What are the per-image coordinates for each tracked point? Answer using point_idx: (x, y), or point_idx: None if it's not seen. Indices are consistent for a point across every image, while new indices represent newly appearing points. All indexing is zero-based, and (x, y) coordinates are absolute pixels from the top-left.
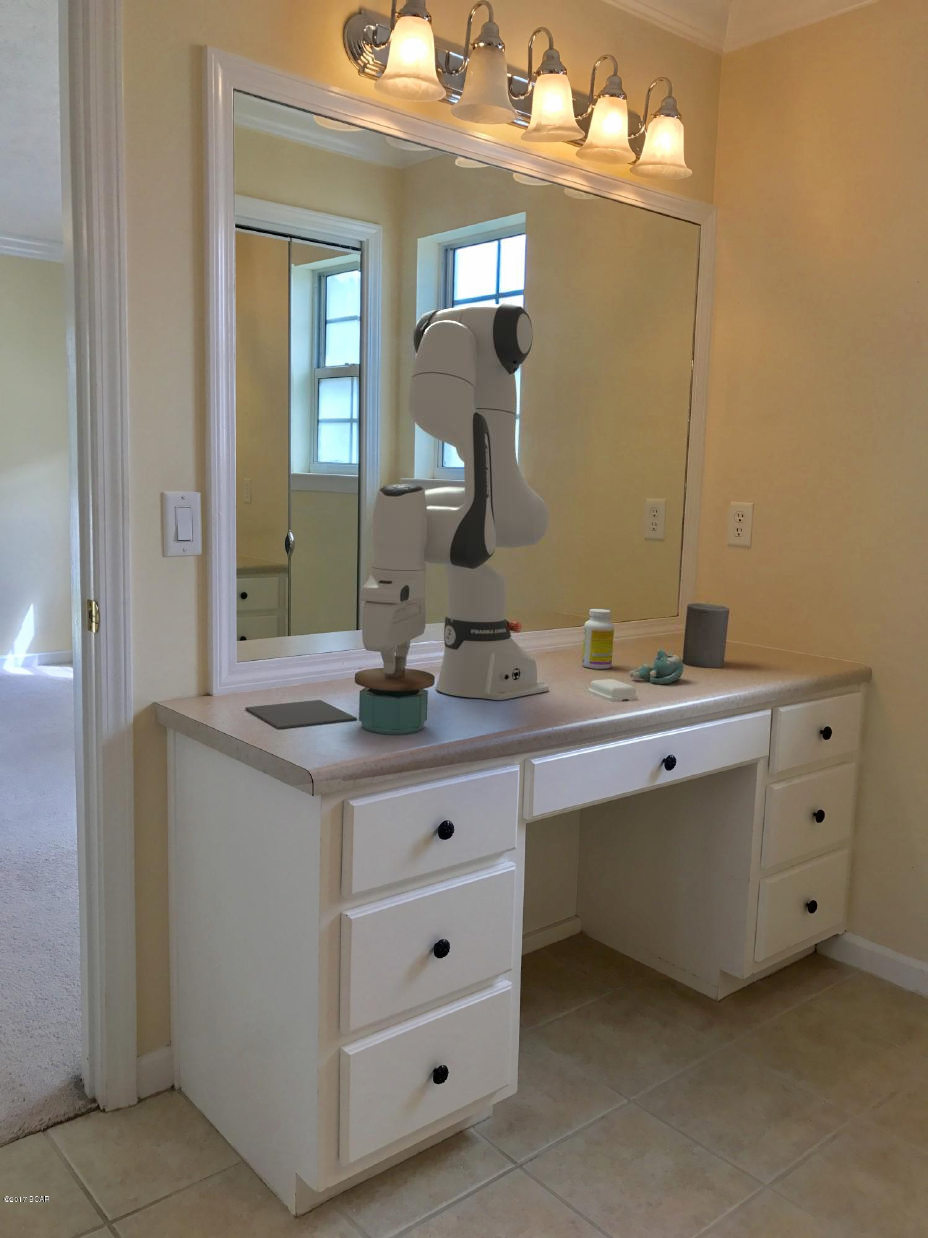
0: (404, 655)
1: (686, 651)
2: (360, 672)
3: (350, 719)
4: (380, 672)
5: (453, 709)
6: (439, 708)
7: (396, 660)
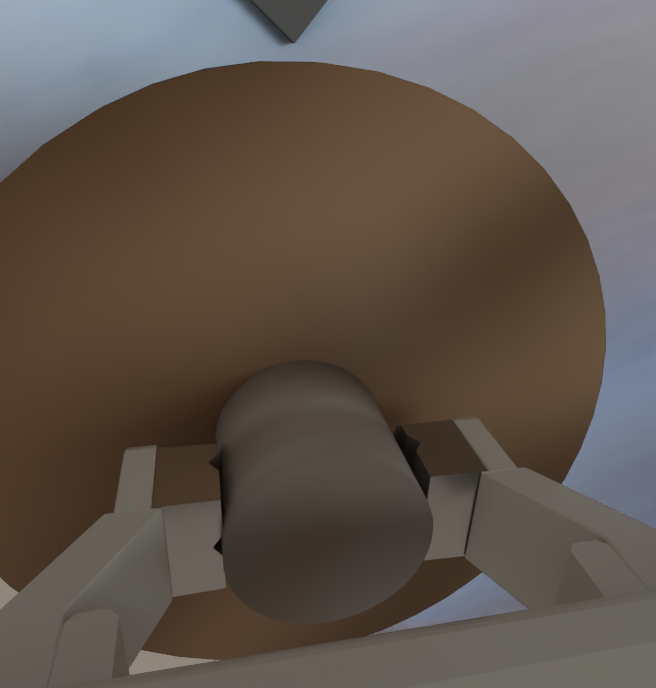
0: (481, 558)
1: None
2: (290, 104)
3: (261, 8)
4: (377, 284)
5: (636, 393)
6: (643, 341)
7: (233, 589)
